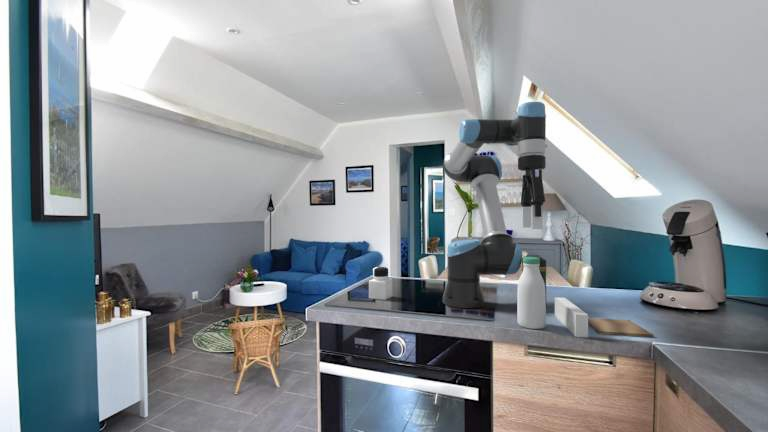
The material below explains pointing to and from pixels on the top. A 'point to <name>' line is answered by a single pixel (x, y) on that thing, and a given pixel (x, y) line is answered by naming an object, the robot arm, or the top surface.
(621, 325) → the walnut pad
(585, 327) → the low wall
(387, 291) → the medicine bottle
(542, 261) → the coffee jar
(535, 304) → the milk bottle
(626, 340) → the top surface
